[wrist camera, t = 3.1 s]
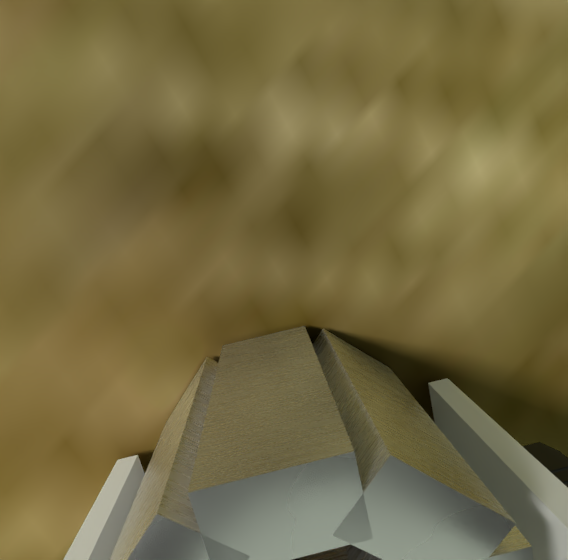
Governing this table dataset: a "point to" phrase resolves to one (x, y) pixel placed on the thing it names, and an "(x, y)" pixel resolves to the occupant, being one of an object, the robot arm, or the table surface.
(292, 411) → the ring
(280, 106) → the table surface
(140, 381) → the table surface
